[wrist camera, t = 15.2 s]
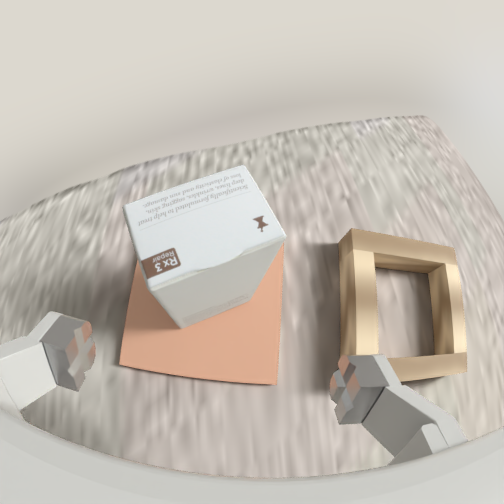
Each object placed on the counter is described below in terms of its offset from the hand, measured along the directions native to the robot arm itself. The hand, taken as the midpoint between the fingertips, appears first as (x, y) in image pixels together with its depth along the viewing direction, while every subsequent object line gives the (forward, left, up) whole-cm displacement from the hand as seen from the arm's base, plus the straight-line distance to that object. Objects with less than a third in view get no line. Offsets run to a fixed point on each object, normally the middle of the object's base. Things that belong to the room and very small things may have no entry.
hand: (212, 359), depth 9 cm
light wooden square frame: (+6, -17, -14) cm, 23 cm away
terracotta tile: (+6, +1, -14) cm, 15 cm away
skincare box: (+6, +1, -13) cm, 14 cm away
